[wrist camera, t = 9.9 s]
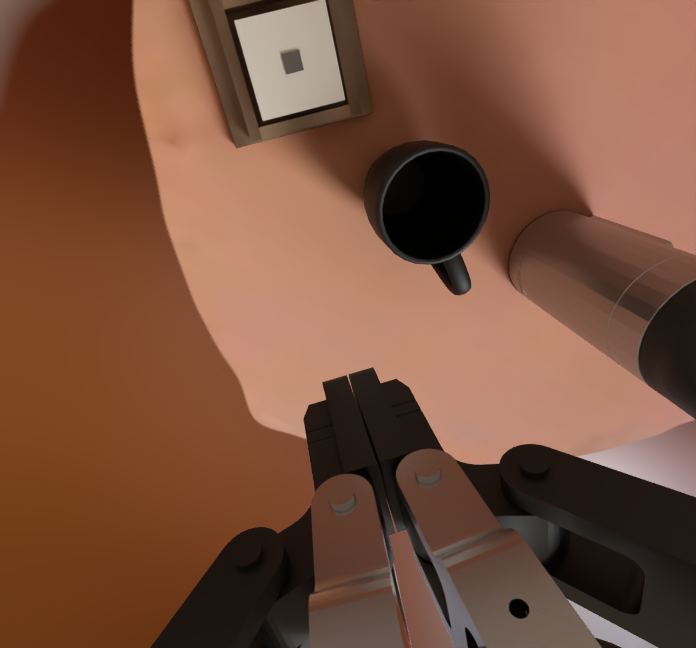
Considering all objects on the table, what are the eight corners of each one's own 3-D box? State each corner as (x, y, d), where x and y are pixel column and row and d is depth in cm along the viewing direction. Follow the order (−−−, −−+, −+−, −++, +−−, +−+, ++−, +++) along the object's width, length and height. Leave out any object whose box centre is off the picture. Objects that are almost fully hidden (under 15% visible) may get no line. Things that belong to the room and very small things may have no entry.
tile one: (319, 5, 32) (325, -2, 29) (339, 99, 34) (345, 99, 32) (235, 26, 31) (234, 20, 29) (262, 119, 34) (262, 121, 32)
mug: (386, 281, 44) (418, 325, 35) (333, 161, 38) (357, 179, 30) (464, 242, 43) (515, 277, 35) (423, 116, 38) (472, 121, 29)
